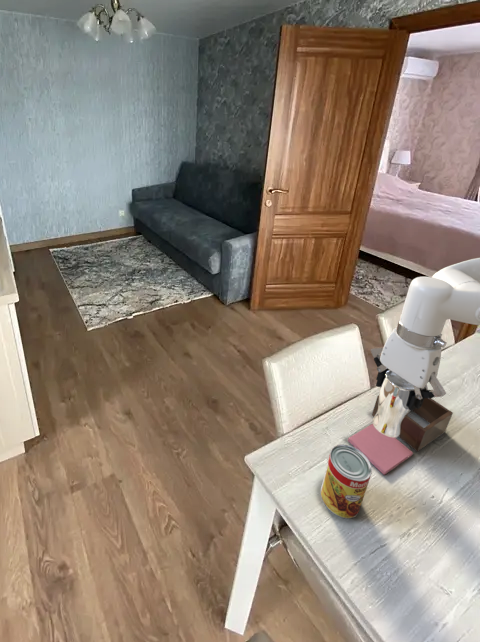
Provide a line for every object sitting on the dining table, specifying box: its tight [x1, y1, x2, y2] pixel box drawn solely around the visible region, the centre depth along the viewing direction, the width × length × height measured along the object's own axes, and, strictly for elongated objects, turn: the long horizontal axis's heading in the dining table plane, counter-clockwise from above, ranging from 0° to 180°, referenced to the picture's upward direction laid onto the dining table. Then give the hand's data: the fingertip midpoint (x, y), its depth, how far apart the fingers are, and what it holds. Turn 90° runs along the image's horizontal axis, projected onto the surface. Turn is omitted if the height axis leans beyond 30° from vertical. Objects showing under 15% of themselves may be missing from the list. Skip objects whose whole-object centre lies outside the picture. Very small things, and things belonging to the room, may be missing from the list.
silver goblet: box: [372, 369, 415, 438], centre depth 81 cm, size 7×7×15 cm
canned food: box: [320, 443, 373, 519], centre depth 73 cm, size 8×8×12 cm
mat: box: [347, 423, 414, 476], centre depth 87 cm, size 11×10×1 cm
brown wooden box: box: [371, 394, 454, 452], centre depth 93 cm, size 12×12×7 cm
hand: (396, 395), depth 80 cm, fingers closed on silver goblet, 7 cm apart
